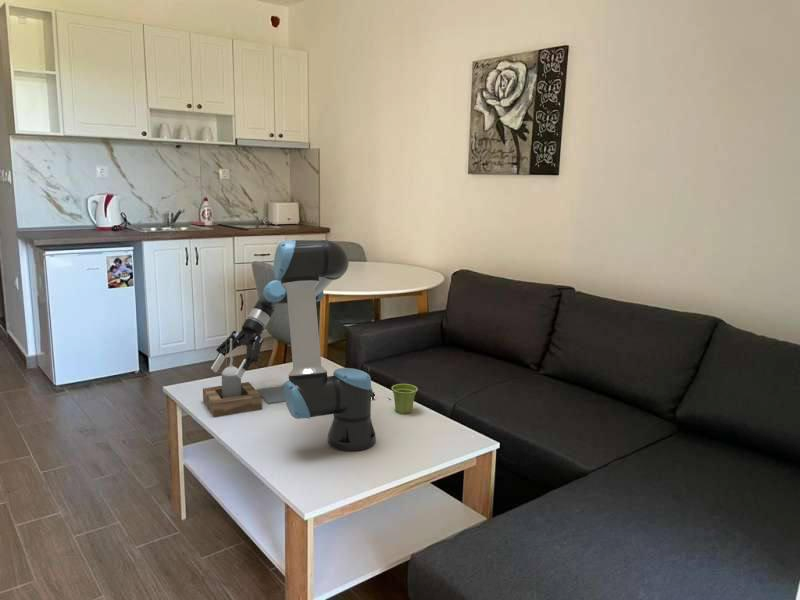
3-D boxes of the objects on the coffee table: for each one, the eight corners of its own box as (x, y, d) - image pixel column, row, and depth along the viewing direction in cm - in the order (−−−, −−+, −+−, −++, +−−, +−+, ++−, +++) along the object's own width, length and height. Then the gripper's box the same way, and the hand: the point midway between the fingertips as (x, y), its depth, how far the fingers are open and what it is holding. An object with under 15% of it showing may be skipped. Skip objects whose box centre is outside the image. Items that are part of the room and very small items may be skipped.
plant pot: (417, 406, 217) (418, 384, 215) (415, 416, 208) (416, 393, 206) (392, 405, 218) (393, 383, 216) (389, 414, 208) (390, 391, 207)
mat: (309, 397, 223) (309, 396, 223) (268, 404, 215) (268, 402, 215) (295, 385, 236) (295, 383, 236) (255, 390, 228) (255, 389, 228)
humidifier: (246, 407, 211) (244, 340, 207) (222, 410, 208) (220, 342, 203) (241, 399, 219) (239, 335, 214) (218, 403, 215) (216, 337, 210)
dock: (261, 409, 210) (261, 396, 209) (213, 417, 202) (213, 403, 201) (248, 394, 225) (248, 381, 224) (203, 401, 216) (202, 388, 215)
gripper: (284, 333, 216) (255, 384, 205) (237, 324, 227) (208, 372, 217) (274, 322, 210) (244, 374, 200) (227, 313, 222) (196, 362, 211)
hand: (225, 373), depth 208 cm, fingers open, 11 cm apart
